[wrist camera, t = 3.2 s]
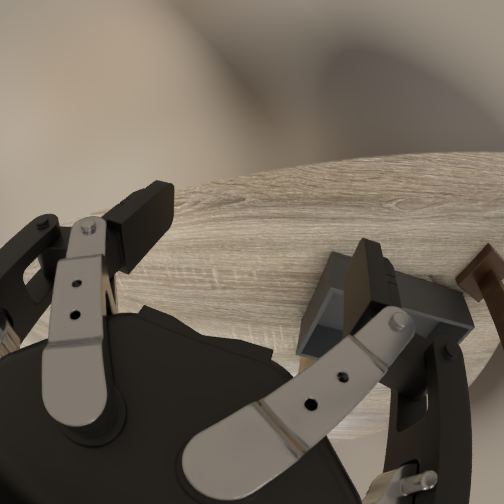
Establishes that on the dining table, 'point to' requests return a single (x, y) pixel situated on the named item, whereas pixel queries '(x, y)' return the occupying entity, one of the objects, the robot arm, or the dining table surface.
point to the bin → (412, 301)
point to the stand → (486, 284)
